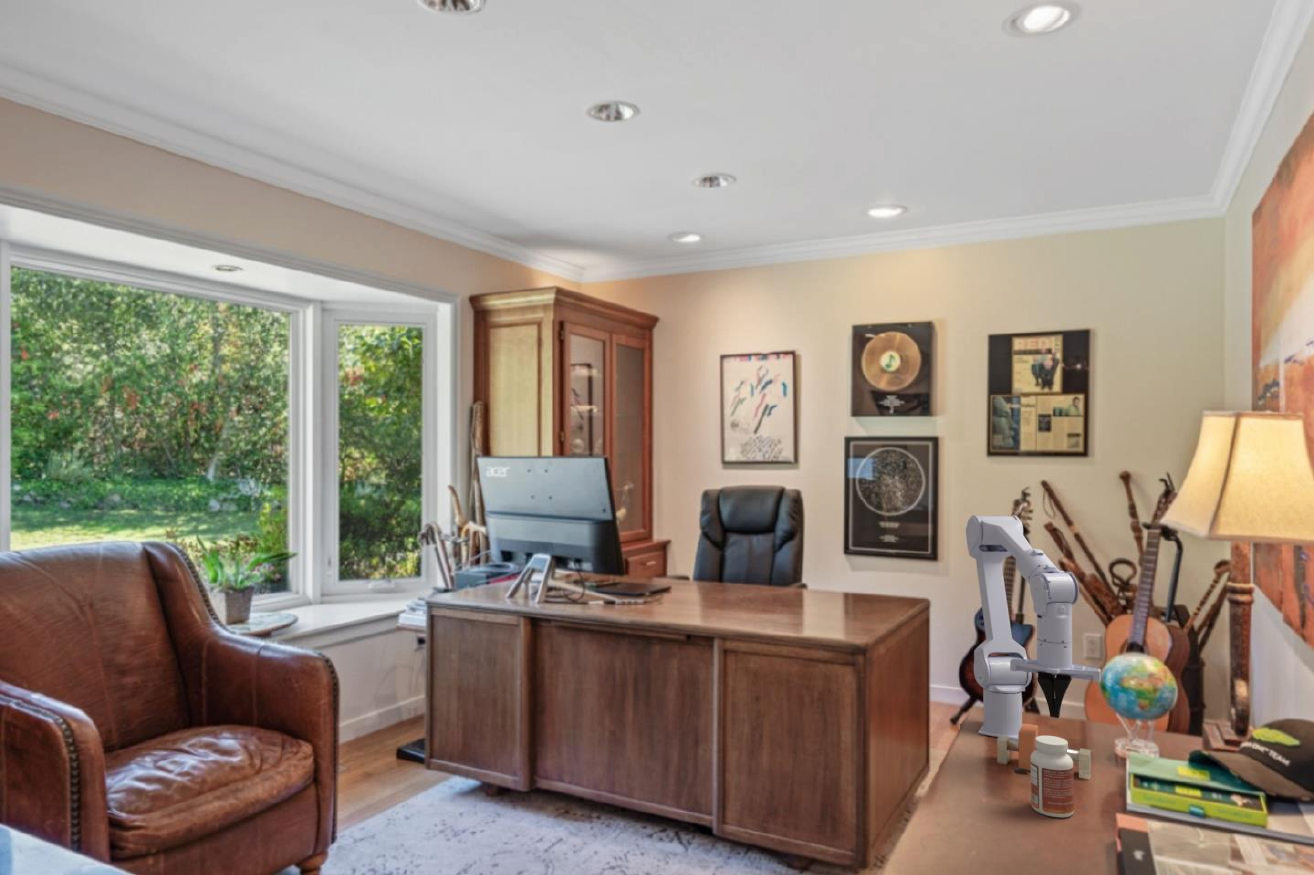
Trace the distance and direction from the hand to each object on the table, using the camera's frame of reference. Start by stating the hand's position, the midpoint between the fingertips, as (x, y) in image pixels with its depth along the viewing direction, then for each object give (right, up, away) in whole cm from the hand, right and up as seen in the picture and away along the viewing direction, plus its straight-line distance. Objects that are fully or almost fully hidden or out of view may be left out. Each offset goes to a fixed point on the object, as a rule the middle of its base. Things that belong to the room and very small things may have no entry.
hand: (1054, 716), depth 148 cm
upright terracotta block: (-4, -10, +2) cm, 11 cm away
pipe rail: (-2, -10, +1) cm, 10 cm away
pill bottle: (-9, -9, -17) cm, 22 cm away
